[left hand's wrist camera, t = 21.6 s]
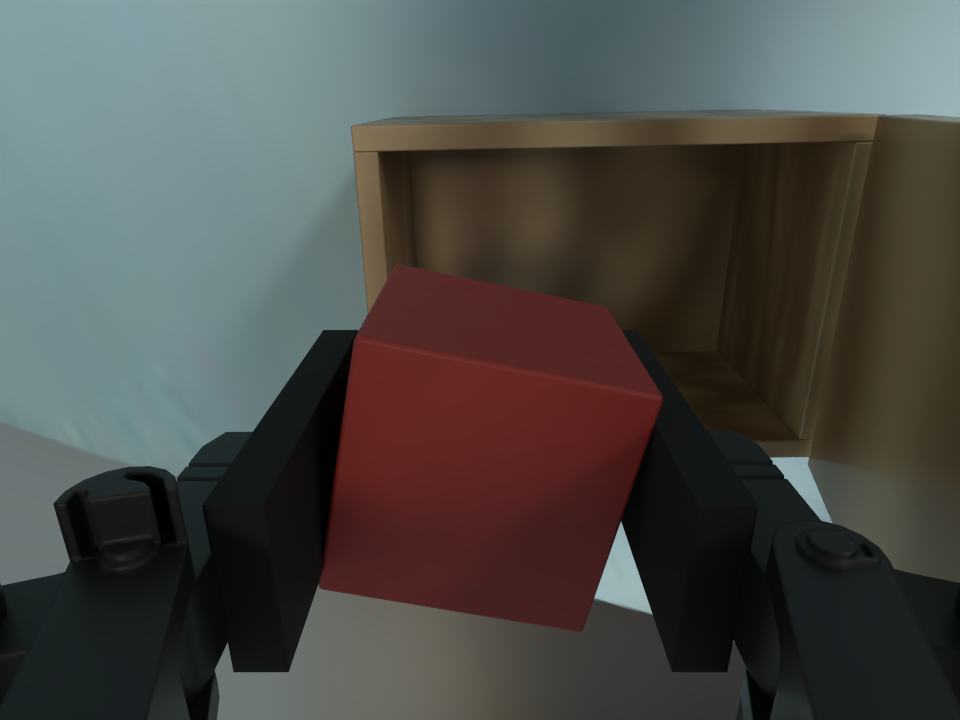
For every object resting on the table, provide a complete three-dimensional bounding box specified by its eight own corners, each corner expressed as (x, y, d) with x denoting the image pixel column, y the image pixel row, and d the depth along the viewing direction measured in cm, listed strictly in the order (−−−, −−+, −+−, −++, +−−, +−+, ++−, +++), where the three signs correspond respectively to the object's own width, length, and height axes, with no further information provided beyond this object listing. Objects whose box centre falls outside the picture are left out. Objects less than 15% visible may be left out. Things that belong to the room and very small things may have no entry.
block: (363, 451, 15) (316, 590, 11) (395, 262, 13) (353, 336, 9) (554, 487, 15) (583, 635, 11) (608, 306, 14) (666, 397, 9)
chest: (409, 363, 34) (381, 464, 25) (392, 117, 29) (350, 125, 20) (724, 358, 34) (816, 457, 24) (757, 109, 29) (886, 113, 20)
